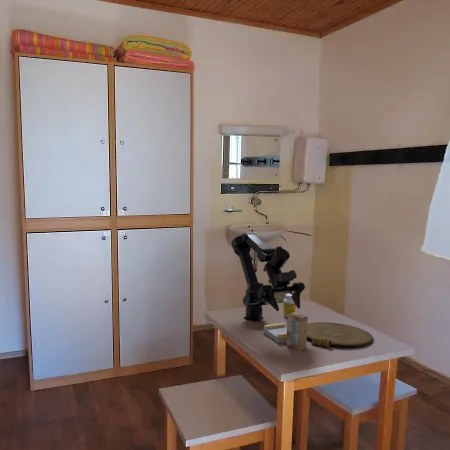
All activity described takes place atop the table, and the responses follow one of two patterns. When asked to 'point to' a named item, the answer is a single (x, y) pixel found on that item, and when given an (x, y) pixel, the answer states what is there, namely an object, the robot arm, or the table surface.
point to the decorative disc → (337, 334)
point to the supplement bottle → (288, 305)
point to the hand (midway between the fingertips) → (288, 309)
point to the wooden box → (296, 331)
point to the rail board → (276, 332)
